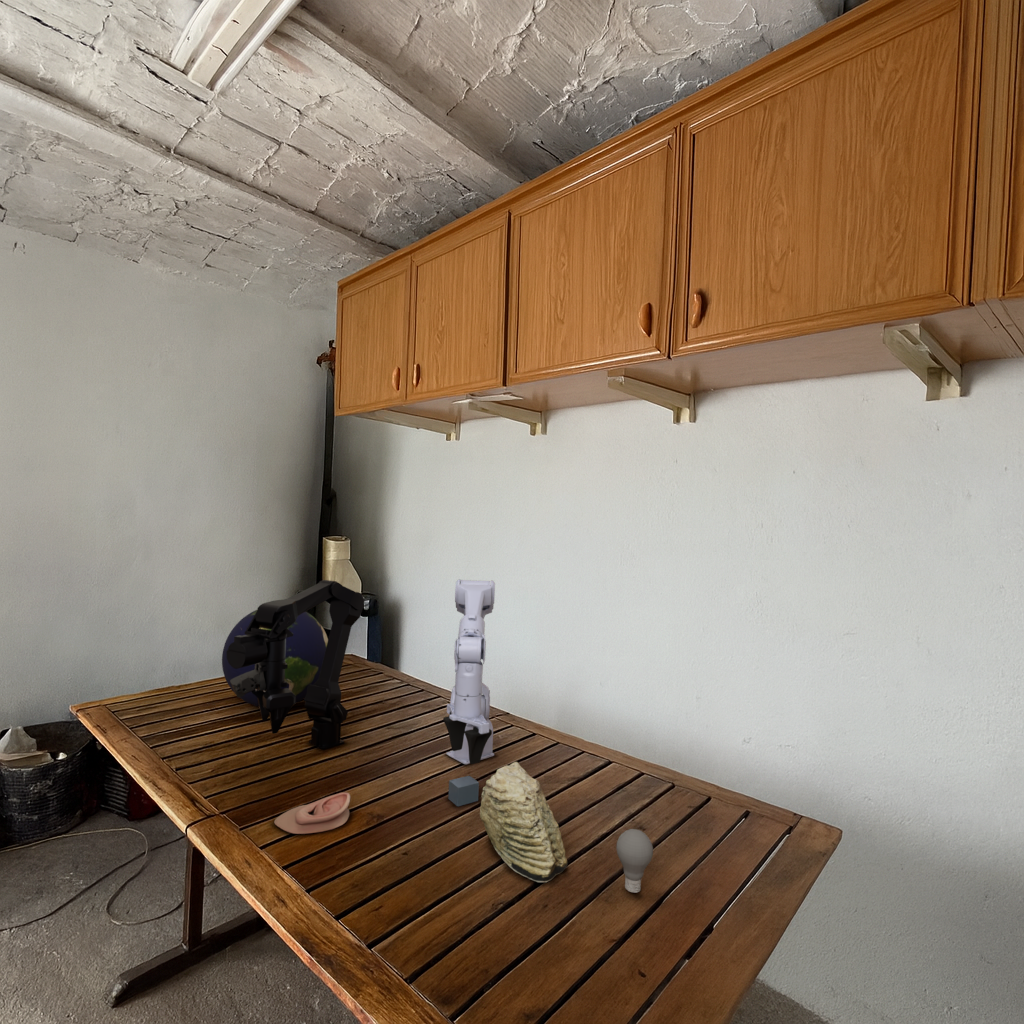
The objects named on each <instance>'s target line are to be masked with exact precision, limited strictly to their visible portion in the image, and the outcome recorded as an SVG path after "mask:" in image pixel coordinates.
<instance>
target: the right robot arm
mask: <svg viewBox="0 0 1024 1024" xmlns="http://www.w3.org/2000/svg"><path fill="white" fill-rule="evenodd" d="M454 587H455V588H454V603H455V608H456V611H457V612H458V613H460V614H463V616H462V617H461V618H460V620H459V624H458V625H459V626H458V634H457V638H455V640H454V649H453V650H454V652H453V659H454V672H455V681H454V683H455V684H454V686H453V687H452V689H451V695H450V703H447V704H446V713H447V714H448V716H444V717H443V718H442V720H443V723H444V725H445V727H446V730H447V733H448V738H449V740H450V741H449V742H450V748H451V750H450V751H446V756H448V757H450V758H452V759H454V760H456V761H457V762H459V763H461V764H463V765H470V764H471V765H475V764H479V763H480V762H481V761H482V760H485V759H488V758H492V757H494V756H495V753H494V752H493V747H494V726H493V722H492V721H491V720H490V707H491V695H490V694H491V690H490V688H489V687H488V686H487V684H485V683H484V682H483V676H484V675H483V671H484V665H485V661H486V651H487V649H486V646H487V640H486V634H485V630H486V629H485V627H486V623H485V617H486V616H487V615H489V614H492V613H493V610H494V605H495V596H496V595H495V593H496V583H495V581H494V580H475V579H473V580H472V579H460V578H458V579H457V580H456V581H455V586H454Z"/></svg>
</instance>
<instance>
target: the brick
mask: <svg viewBox="0 0 1024 1024" xmlns="http://www.w3.org/2000/svg"><path fill="white" fill-rule="evenodd" d="M479 790H480V782H479V781H477V779H475V778H474V777H473V776H471V775H465V776H461V777H458V778H457V777H456V778H453V779H449V780H448V797H447V798H448V800H449V801H450V802H451V803H453V804H454V805H455V806H456V807H462V806H465V805H468V804H472V803H477V802H478V801H479V794H480V793H479V792H480V791H479Z"/></svg>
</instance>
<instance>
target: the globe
mask: <svg viewBox="0 0 1024 1024" xmlns="http://www.w3.org/2000/svg"><path fill="white" fill-rule="evenodd" d="M257 610H258V608H257V609H255V610H253V611H251V612H250V613H248V614H246V615H245V616H243V618H241V619H240V620H239V621H238V622H237V623H235V625H234V627H232V629H231V631H230V632H229V634H228V635H227V637H226V640H225V642H224V645H223V649H222V654H221V666H222V672H223V676H224V678H225V679H224V680H225V681H226V683H227V685H228V687H229V688H230V689H231V691H232V692H233V693H234V691H233V688H232V685H231V683H230V680H231V679H233V678H235V677H237V676H240V675H242V674H244V673H246V672H249V671H252V670H255V664H253V665H250V666H246V667H242V668H238V669H235V668H233V667H232V666H230V664H229V663H228V660H227V655H226V653H227V650H228V647H229V645H230V644H231V643H233V642H234V637H235V636H239V635H240V636H243V635H246V634H245V631H246V629H247V627H248V626H249V624H250V622H251V621H252V619H253V617H254V615H255V614H256V612H257ZM260 629H265V630H272V629H266V628H261V627H260ZM288 630H289V631H291V632H292V633H293V636H292V637H288V638H286V654H285V663H287V664H288V667H287V669H285V681H286V682H287V687H281V689H284V688H288V689H289V690H290V691H291V692H292V693H293V694H294V695H296V702H295V704H298V703H299V702H301V701H304V699H305V697H306V694H307V688H308V686H309V685H314V683H315V682H316V681H317V680H318V679H319V675H320V671H321V667H322V663H323V659H324V655H325V651H326V647H327V643H328V639H329V637H328V635H327V633H326V631H325V629H324V627H323V626H322V624H321V623H320V621H318V619H317V618H315V616H314V615H312V614H311V613H310V612H308V611H305V612H304V613H302V614H300V615H299V616H298V617H297V619H296V621H295V622H294V623H293V624H292V625H291V626H289V627H288ZM238 698H239V699H240V700H242V701H244V702H245V703H247V704H248V705H251V706H254V707H258V708H259V703H258V699H257V697H256V696H255V695H254V694H253V693H252V692H249V693H247V694H245V695H244V696H242V697H238Z"/></svg>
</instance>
